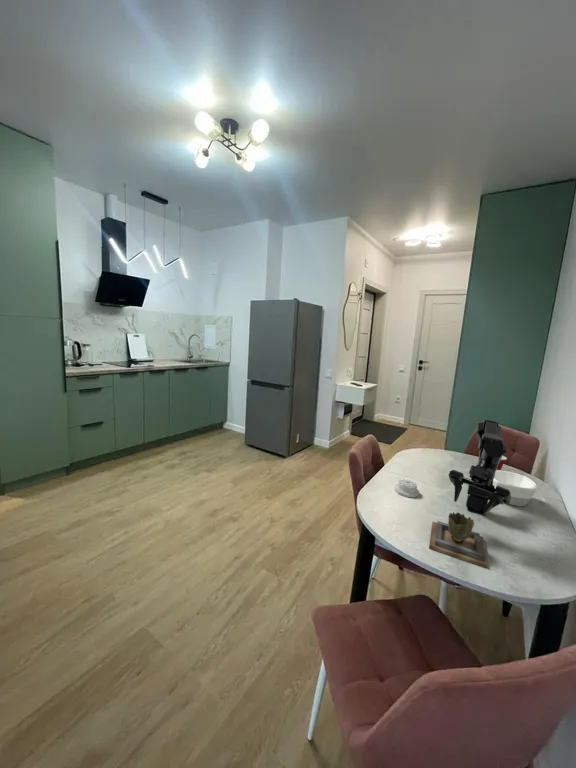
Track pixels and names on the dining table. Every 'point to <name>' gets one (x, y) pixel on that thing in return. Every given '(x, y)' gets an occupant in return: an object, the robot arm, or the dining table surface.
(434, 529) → the holder board
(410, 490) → the mechanical component
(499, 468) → the plastic cup
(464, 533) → the cup
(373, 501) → the dining table surface
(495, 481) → the bowl
